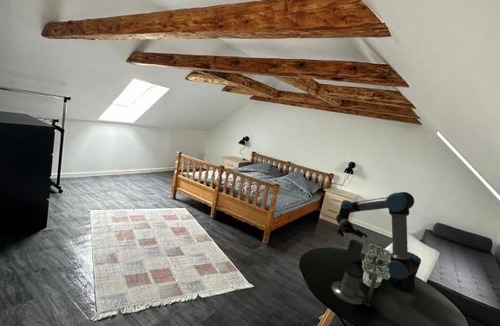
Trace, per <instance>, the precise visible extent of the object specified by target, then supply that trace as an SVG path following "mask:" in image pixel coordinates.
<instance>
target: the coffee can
mask: <svg viewBox="0 0 500 326" xmlns="http://www.w3.org/2000/svg"><path fill="white" fill-rule="evenodd" d="M363 278H364V273H363V272H362V271H361V270H360V269H358V268H356V267H353V266H346V267H345V269H344V274H343V277H342V280H341V281H342V283H341V286H340V291H341V292H342V293H343V294H344V295H346V296H348V297H353V298H354V297H356V296H357V293H358V290H359V289H360V286H361V283H362V280H363Z"/></svg>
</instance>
